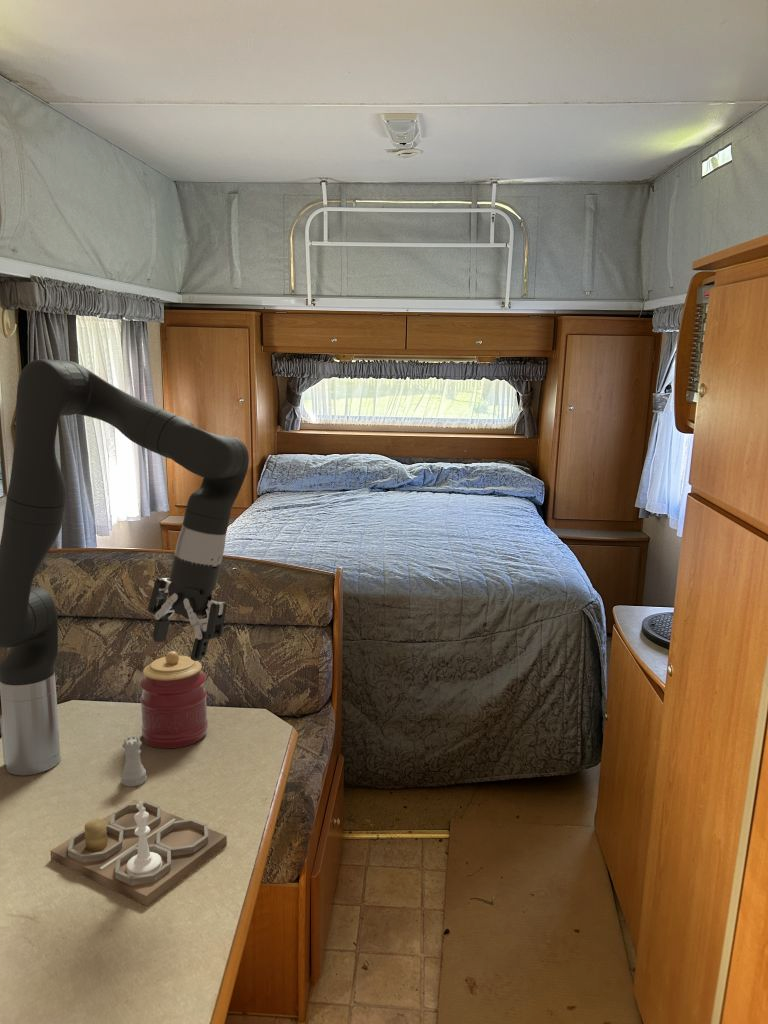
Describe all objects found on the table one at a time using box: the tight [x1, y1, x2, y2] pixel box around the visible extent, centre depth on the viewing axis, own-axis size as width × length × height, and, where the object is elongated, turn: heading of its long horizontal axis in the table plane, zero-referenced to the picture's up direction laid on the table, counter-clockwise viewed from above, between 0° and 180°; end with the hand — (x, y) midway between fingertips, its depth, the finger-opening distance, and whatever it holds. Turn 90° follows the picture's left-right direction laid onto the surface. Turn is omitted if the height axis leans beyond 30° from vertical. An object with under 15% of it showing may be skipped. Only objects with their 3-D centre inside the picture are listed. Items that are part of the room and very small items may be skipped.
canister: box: [139, 650, 209, 749], centre depth 149 cm, size 13×13×18 cm
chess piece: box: [126, 800, 162, 877], centre depth 106 cm, size 5×5×10 cm
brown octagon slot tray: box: [49, 799, 228, 907], centre depth 112 cm, size 20×16×5 cm
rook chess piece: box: [120, 735, 148, 788], centre depth 132 cm, size 4×4×8 cm
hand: (177, 650), depth 122 cm, fingers open, 8 cm apart
